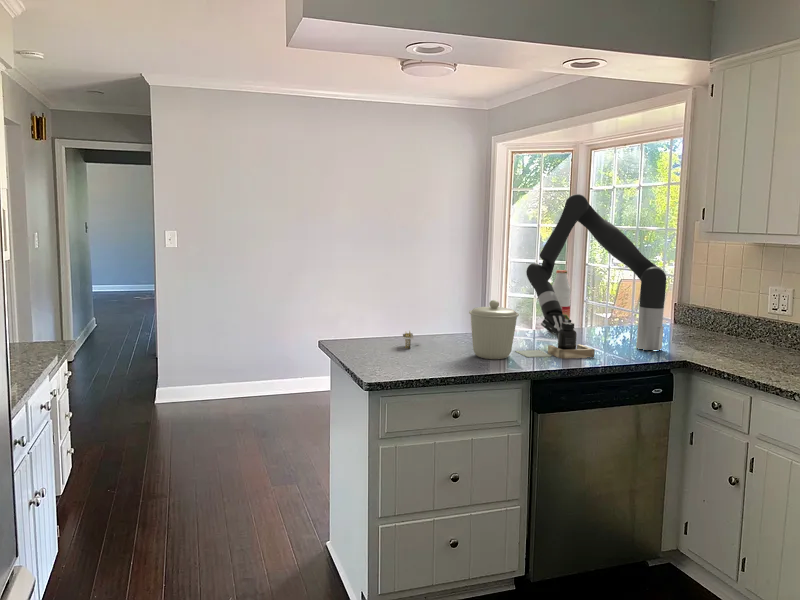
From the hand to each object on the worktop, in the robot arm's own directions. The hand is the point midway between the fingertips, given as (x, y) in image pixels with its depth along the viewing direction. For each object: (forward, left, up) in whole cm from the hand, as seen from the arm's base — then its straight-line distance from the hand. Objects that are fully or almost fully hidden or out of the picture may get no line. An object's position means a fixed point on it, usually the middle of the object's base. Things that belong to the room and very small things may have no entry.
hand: (562, 341), depth 257 cm
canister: (+17, +27, -5) cm, 32 cm away
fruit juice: (+19, -45, -5) cm, 49 cm away
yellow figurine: (+50, +33, -5) cm, 60 cm away
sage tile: (+7, +12, -4) cm, 14 cm away
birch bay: (-5, +4, -4) cm, 7 cm away
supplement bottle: (-3, +3, -5) cm, 6 cm away
